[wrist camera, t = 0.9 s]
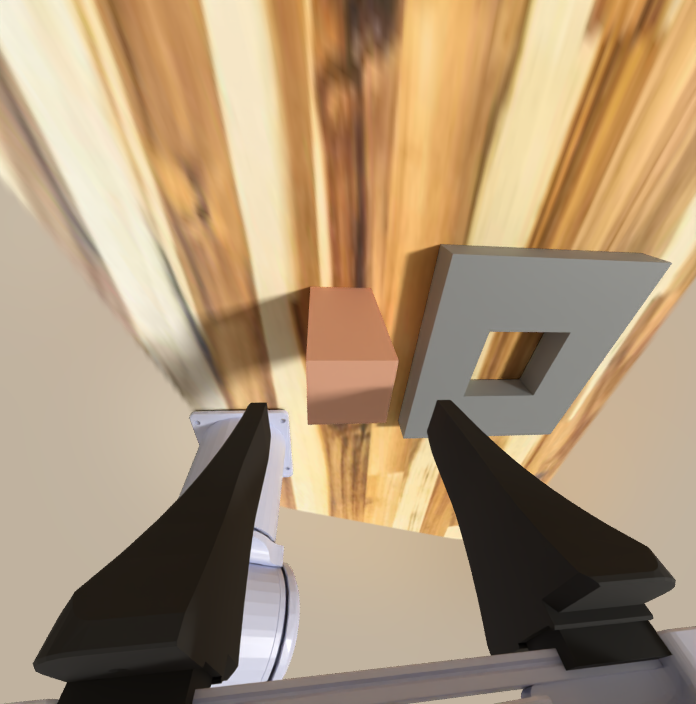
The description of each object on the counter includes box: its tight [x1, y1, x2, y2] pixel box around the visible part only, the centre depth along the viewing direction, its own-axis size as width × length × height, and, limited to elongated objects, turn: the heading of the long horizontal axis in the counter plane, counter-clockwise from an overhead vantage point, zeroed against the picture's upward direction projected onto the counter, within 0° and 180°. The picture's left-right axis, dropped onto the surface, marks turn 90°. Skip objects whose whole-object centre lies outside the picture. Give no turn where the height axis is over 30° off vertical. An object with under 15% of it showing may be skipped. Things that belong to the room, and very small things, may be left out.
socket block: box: [398, 244, 672, 438], centre depth 22 cm, size 16×14×2 cm
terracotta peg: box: [306, 287, 399, 425], centre depth 17 cm, size 4×4×8 cm
